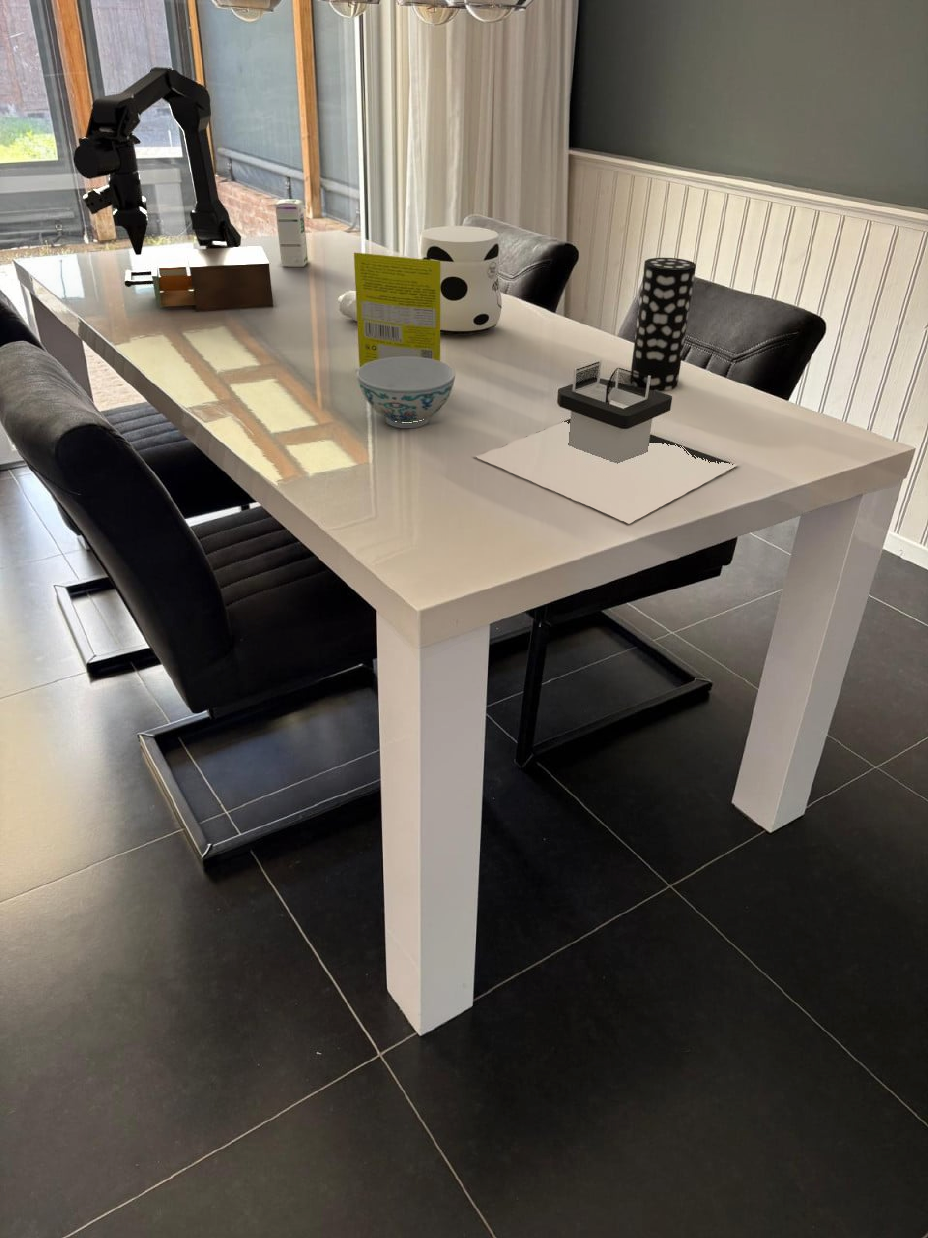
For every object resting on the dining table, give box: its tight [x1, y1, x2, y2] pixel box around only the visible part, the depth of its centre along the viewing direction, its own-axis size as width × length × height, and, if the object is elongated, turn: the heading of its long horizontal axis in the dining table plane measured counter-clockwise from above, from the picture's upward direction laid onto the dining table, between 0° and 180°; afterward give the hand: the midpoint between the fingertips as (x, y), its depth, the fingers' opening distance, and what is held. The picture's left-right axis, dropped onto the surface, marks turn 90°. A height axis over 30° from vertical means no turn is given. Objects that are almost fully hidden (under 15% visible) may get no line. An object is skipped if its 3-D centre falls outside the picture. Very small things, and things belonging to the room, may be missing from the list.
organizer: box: [186, 246, 274, 312], centre depth 194 cm, size 16×16×9 cm
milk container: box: [418, 225, 503, 335], centre depth 177 cm, size 17×17×18 cm
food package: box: [353, 252, 441, 369], centre depth 152 cm, size 15×1×20 cm, turn 71°
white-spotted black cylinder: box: [630, 257, 697, 392], centre depth 152 cm, size 8×8×20 cm
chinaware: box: [356, 357, 456, 429], centre depth 139 cm, size 15×15×8 cm
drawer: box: [124, 257, 196, 309], centre depth 192 cm, size 22×16×6 cm
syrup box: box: [274, 198, 309, 268], centre depth 220 cm, size 6×6×14 cm
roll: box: [337, 290, 357, 323], centre depth 184 cm, size 6×12×6 cm, turn 35°
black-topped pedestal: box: [556, 360, 734, 465], centre depth 125 cm, size 28×26×13 cm
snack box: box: [158, 262, 189, 292], centre depth 191 cm, size 6×3×6 cm, turn 107°
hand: (138, 254), depth 187 cm, fingers closed
